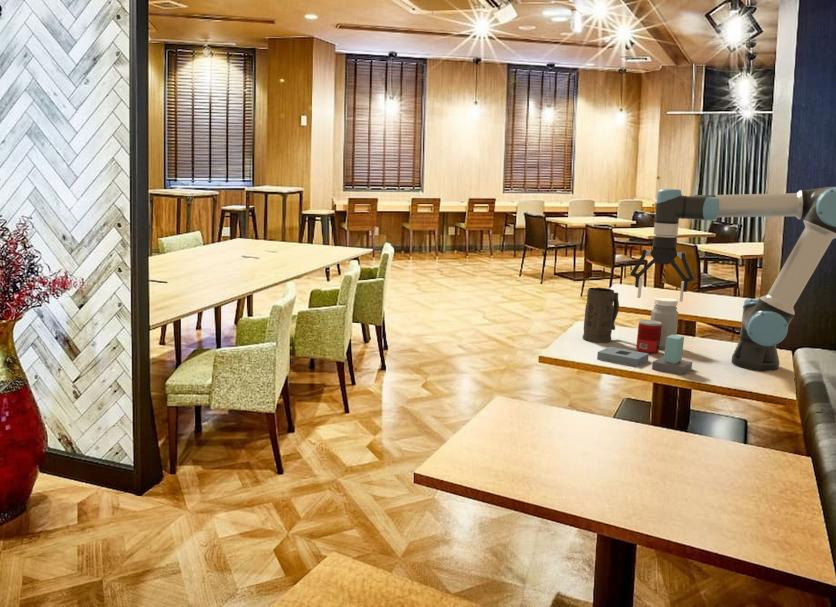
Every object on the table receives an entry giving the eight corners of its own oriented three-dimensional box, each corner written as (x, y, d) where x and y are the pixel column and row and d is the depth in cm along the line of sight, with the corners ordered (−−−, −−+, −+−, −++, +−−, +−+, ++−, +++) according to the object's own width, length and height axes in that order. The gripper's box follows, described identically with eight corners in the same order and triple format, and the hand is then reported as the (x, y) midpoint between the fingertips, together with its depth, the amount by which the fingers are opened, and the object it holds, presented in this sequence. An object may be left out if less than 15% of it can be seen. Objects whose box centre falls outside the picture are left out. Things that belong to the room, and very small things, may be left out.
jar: (671, 351, 286) (676, 302, 283) (644, 346, 291) (649, 299, 288) (677, 346, 294) (682, 299, 291) (651, 342, 299) (656, 295, 296)
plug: (680, 368, 261) (684, 336, 259) (674, 372, 256) (678, 339, 254) (668, 366, 263) (672, 334, 261) (662, 369, 258) (666, 337, 256)
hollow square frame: (691, 369, 261) (692, 361, 260) (682, 374, 253) (683, 367, 252) (661, 363, 267) (662, 356, 266) (651, 369, 259) (652, 361, 258)
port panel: (648, 360, 270) (648, 353, 269) (636, 366, 261) (637, 359, 261) (609, 353, 278) (610, 346, 277) (597, 358, 269) (597, 351, 268)
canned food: (661, 354, 280) (664, 324, 278) (639, 353, 280) (642, 323, 278) (655, 349, 287) (658, 320, 285) (633, 348, 287) (636, 319, 285)
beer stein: (599, 344, 291) (606, 291, 289) (575, 338, 299) (582, 286, 297) (622, 342, 302) (629, 290, 299) (598, 336, 310) (605, 286, 307)
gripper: (705, 237, 258) (699, 301, 262) (628, 232, 267) (623, 294, 271) (704, 239, 251) (698, 304, 255) (625, 234, 260) (620, 297, 264)
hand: (659, 299), depth 263 cm, fingers open, 13 cm apart
